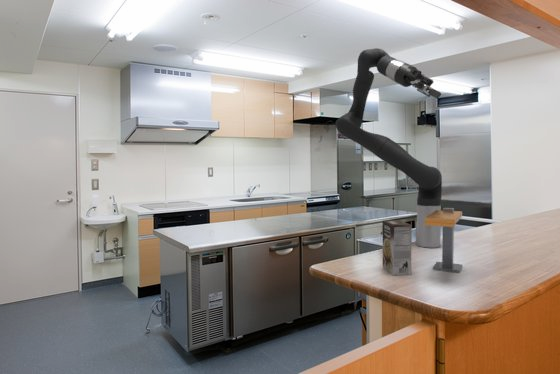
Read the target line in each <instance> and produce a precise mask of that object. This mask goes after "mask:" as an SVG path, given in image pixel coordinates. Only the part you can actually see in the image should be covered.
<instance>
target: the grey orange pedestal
mask: <svg viewBox="0 0 560 374" xmlns="http://www.w3.org/2000/svg"><path fill="white" fill-rule="evenodd" d="M462 217H463V211H461V210H460V211H457V210H455V208H454V207H444V208H442V210H441V211H440V210H436V211H434V212H433V213H431V214H430V215H429V216H427V217H426V218H425V225H430V226H441V227H442V238H441V239H442V246H441V247H442V249H441V251H442V254H441V256H442V258H441V261H436V262H435V264H434V265H433V266H432V270H434V271H440V270H442V272H448V273H449V272H450V273H458V274H460V273H461V271H462V268H463V264H461V263H455V262H454V252H455V251H454V247H455V246H454V244H455V243H454V236H455V234H454V233H455V232H454V231H455V226H456V224H457V222H459V221H460V220H461V218H462Z"/></svg>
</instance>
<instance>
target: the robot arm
mask: <svg viewBox="0 0 560 374" xmlns="http://www.w3.org/2000/svg"><path fill="white" fill-rule="evenodd" d="M371 68H376V70H377V72H378V73H380V74H381V75H382V76H384V77H386V78H388V79H389V80H390V81H393V82H395V83H397V84H398V85H400V86H401V87H404V88H409V87H411V86H412V87H413V88H415V89H416V91H417V92H419V93H421V94H423V95H425V96H426V97H427V98H430V97H433V98H435V99H439V98H440V97H441V95H442V93H441V92H440V91H439V90H436V89H435V88H433V87H432V84H433V83H434V80H433V79H431V78H429V77H427V76H425V74H423V73H422V71H421V70H420V69H418V68H417V67H416V66H413V65H412V64H410V63H407V62H405V61H403V60H399V59H396V58H395V57H392V56H390V55H389V54H388V52H386V51H385V50H384V49H382V48H377V47H376V48H369V49H364V50H362V51H361V52H360V53H359V55H358V58H357V71H356V72H357V73H356V74H357V75H356V77H355V80H354V84H353V88H352V103H351V106H350V108H349V110H348V112H347V113H344V114H343V115H341V116H340V117H339V118H338V119H337V120H336V121H335V128H336V130H337V131H338V133H339V134H341V136H343V137H345V138H347V139H348V140H351V141H353V142H355V143H357V144H358V145H360V146H361V147H363V148H364V149H366V150H367V151H368V152H370V153H372V154H373V155H375V156H376V157H377V158H378V159H380V160H382V161H384V163H387V164H388V165H390V166H391V167H393V168H395V169H397V170H398V171H400V172H402V173H403V174H405V175H406V176H407V177H408V178H410V179H411V180H412V181H413V182H415V184H417V185H418V188H417V189H418V190H417V191H418V193H417V198H416V203H417V204H416V222H415V244H416V246H418V247H421V248H432V249H434V248H435V249H436V248H440V247H441V230H442V229H441V228H442V226H430V225H425V218H426V217H427V216H429V215H430V214H431V213H433V212H434V211H436V210H440V211H442V210H441V205H442V202H441V201H442V191H443V190H442V187H443V186H442V185H443V181H442V179H443V177H442V173H441V171H440V170H439V168H436V167H435V166H429V165H427V164H425V163H424V162H421V161H420V160H417V158H415V157H413V156H412V155H411V154H410V153H409V152H408V151H407V150H405V149H404V148H403V147H402V146H401V145H400V144H399V143H397V142H395V141H394V140H393V139H391V138H390V137H388V136H385V135H382V134H380V133H379V134H377V133H373V132H369V131H367V130H365V129H363V128H362V124H363V121H364V113H365V109H366V105H367V100H368V97H369V93H370V90H371V88H372V85H373V82H374V79H375V74H374V73H373V72H372V71H371V70H370V69H371Z"/></svg>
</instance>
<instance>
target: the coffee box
mask: <svg viewBox="0 0 560 374" xmlns="http://www.w3.org/2000/svg"><path fill="white" fill-rule="evenodd" d="M412 226H413V225H412V224H410V223H407V222H405V221H402V220H392V219H391V220H386V219H385V220H382V268H383V269H385V270H386V271H387V272H388V273H389V274H391V275H392V276H402V275H404V274H409V275H412V243H413V242H412V234H413V233H412V232H413V230H412V229H413V228H412ZM404 276H405V275H404Z"/></svg>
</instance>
